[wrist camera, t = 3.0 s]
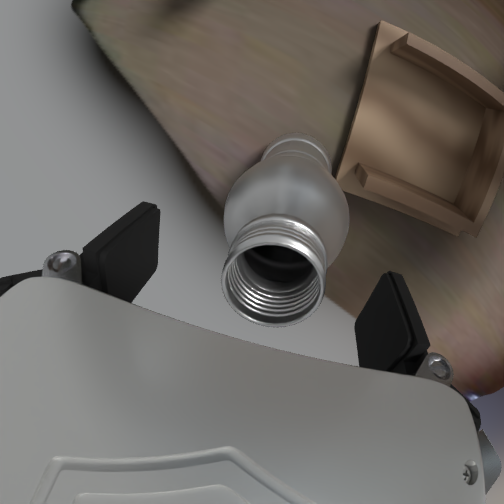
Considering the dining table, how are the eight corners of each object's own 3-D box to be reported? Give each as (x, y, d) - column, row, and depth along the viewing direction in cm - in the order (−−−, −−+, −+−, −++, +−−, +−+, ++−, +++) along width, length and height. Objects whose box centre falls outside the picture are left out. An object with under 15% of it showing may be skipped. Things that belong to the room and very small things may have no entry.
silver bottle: (257, 184, 28) (176, 324, 11) (274, 121, 25) (194, 166, 8) (317, 203, 28) (321, 367, 11) (338, 141, 24) (404, 233, 7)
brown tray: (378, 23, 17) (394, 5, 12) (501, 95, 16) (533, 100, 11) (332, 184, 27) (338, 204, 22) (453, 232, 26) (476, 259, 21)
